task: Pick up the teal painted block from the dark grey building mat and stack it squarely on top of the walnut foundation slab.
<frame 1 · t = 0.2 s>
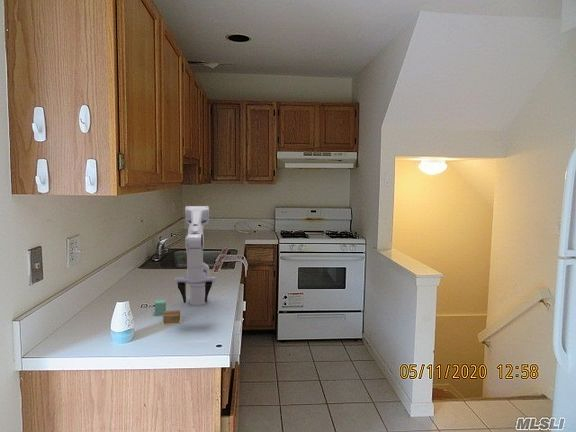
hand: (195, 301, 147), 10 cm above the worktop, tool pointing down, fingers open, 7 cm apart
walnut slab: (172, 320, 153), point 1 cm above the worktop, touching build mat
teal block: (160, 313, 160), point 1 cm above the worktop, touching build mat
build mat: (167, 318, 156), on the worktop
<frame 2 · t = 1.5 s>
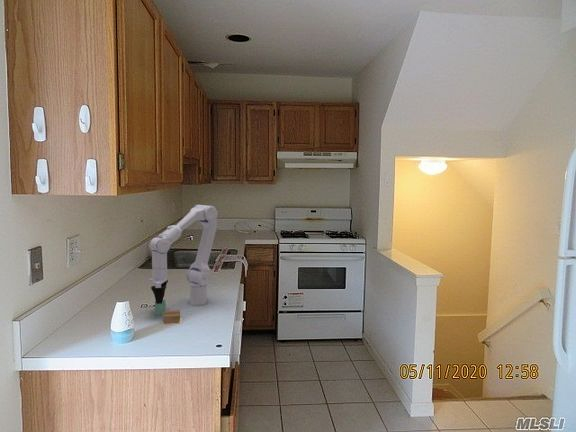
hand: (160, 300, 160), 6 cm above the worktop, tool pointing down, fingers open, 7 cm apart
nothing on the worktop moved.
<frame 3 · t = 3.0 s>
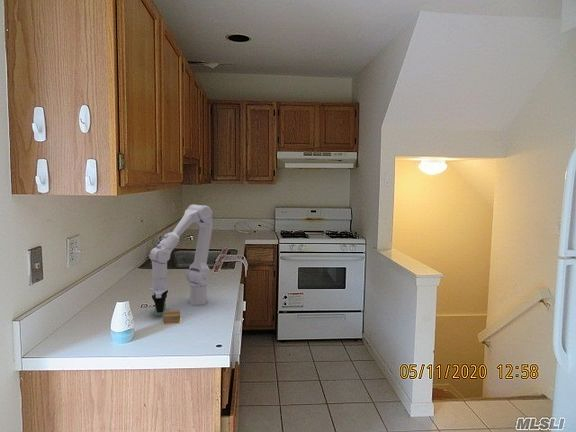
hand: (160, 310, 160), 2 cm above the worktop, tool pointing down, fingers closed on teal block, 4 cm apart
teal block: (160, 313, 160), point 1 cm above the worktop, touching build mat, gripper
everything else where it was.
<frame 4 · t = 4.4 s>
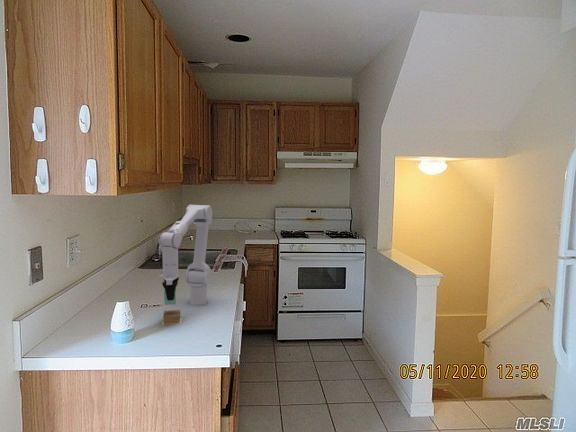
hand: (171, 298, 152), 9 cm above the worktop, tool pointing down, fingers closed on teal block, 4 cm apart
teal block: (170, 303, 152), point 8 cm above the worktop, touching gripper
everything else where it was.
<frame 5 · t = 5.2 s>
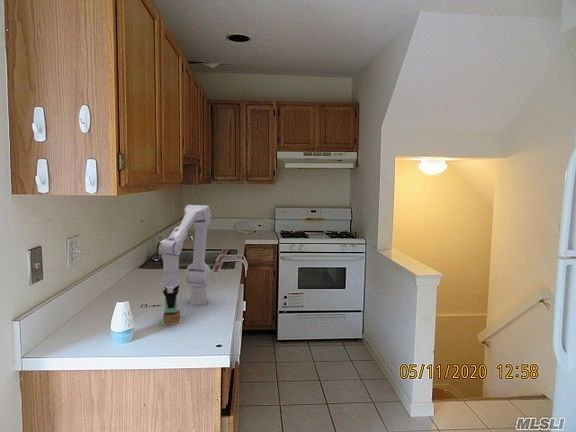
hand: (171, 305, 152), 6 cm above the worktop, tool pointing down, fingers closed on teal block, 4 cm apart
teal block: (171, 310, 152), point 5 cm above the worktop, touching gripper
everything else where it was.
when the fingers open (6 cm above the worktop, at t = 5.8 s): teal block stays where it is, resting on walnut slab.
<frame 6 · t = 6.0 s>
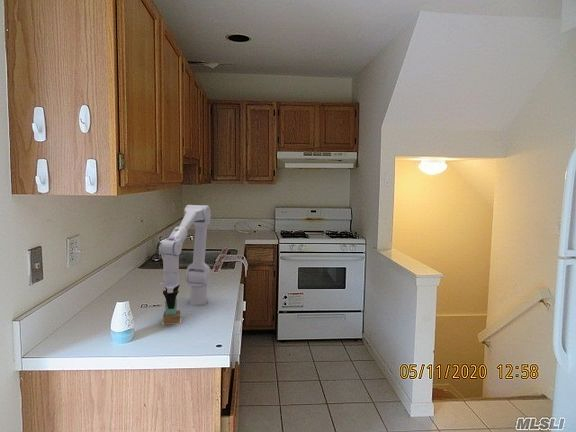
hand: (171, 305, 152), 7 cm above the worktop, tool pointing down, fingers open, 6 cm apart
walnut slab: (172, 320, 153), point 1 cm above the worktop, touching build mat, teal block
teal block: (171, 313, 152), point 4 cm above the worktop, touching walnut slab
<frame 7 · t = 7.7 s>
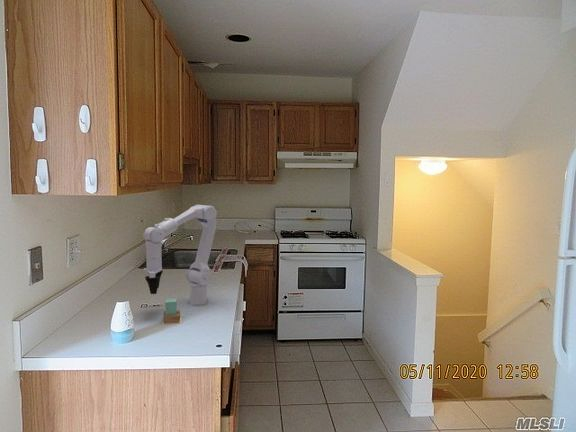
hand: (154, 290, 158), 10 cm above the worktop, tool pointing down, fingers open, 7 cm apart
nothing on the worktop moved.
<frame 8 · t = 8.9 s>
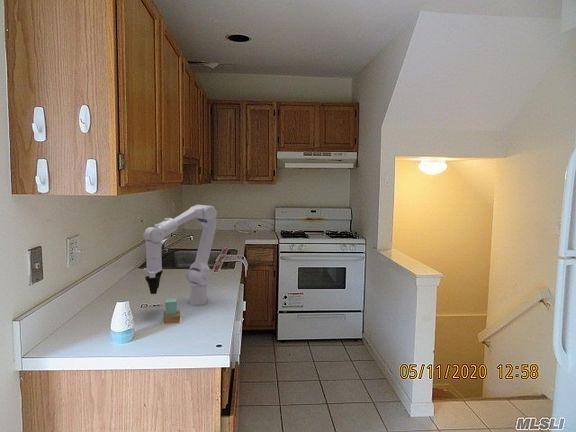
hand: (154, 290, 158), 10 cm above the worktop, tool pointing down, fingers open, 7 cm apart
nothing on the worktop moved.
at the end: teal block 0.2 cm off-centre on the walnut slab, point 3.0 cm above the walnut slab's base; teal block tilted 0°; the gripper is holding nothing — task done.
